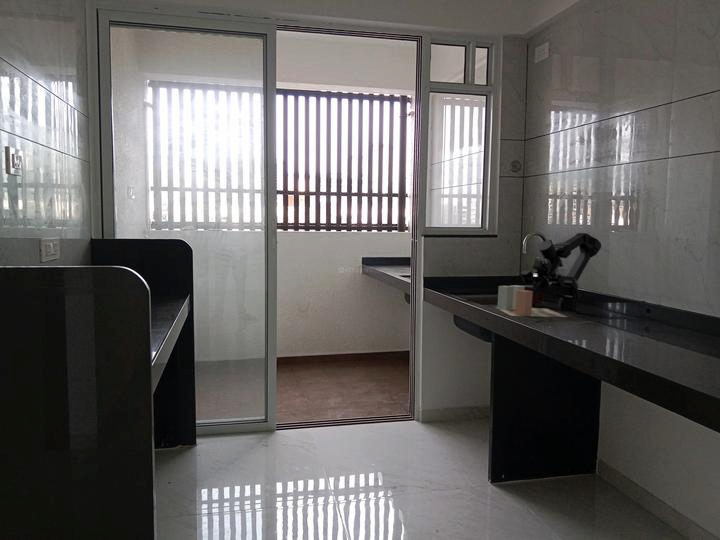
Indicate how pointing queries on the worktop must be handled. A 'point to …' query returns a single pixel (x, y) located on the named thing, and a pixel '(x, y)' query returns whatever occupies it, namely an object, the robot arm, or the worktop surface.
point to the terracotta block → (524, 302)
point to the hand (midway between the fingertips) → (532, 293)
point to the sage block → (505, 297)
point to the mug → (534, 295)
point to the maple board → (536, 312)
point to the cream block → (516, 294)
